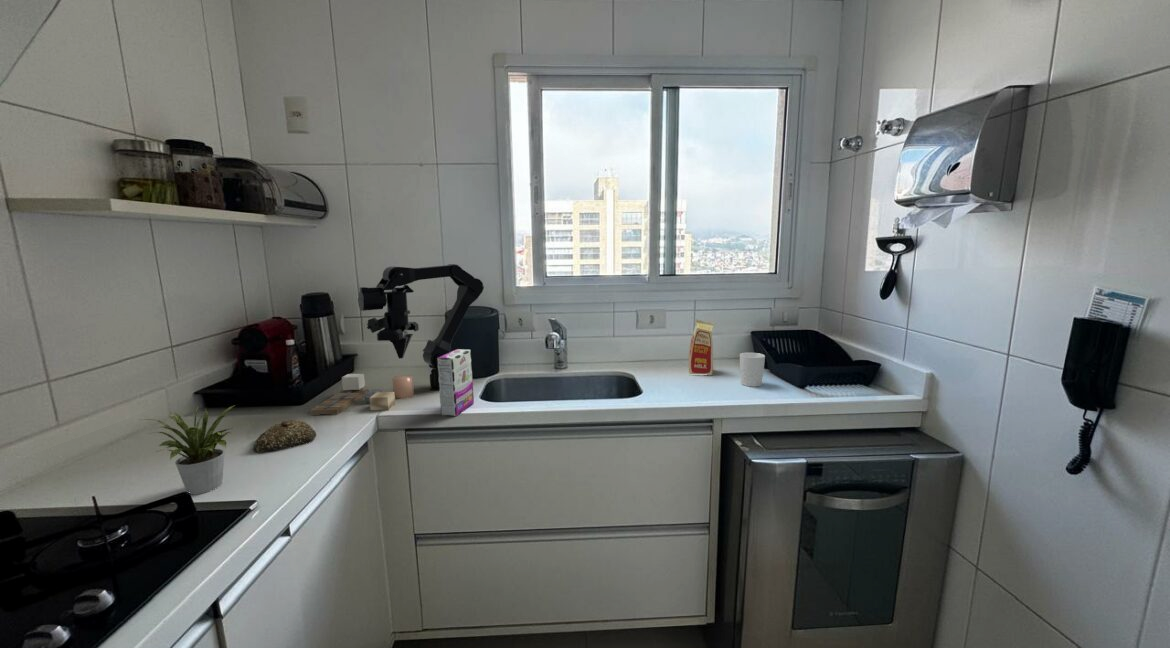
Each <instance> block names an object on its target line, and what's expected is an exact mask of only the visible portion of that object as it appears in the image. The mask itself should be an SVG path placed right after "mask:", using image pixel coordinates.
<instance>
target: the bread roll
mask: <svg viewBox="0 0 1170 648" xmlns="http://www.w3.org/2000/svg"><path fill="white" fill-rule="evenodd" d="M316 435H317V433H316V430H314V428H313V427H312V426H311V425H310V424H308V423H307V422H306V421H303V420H297V419H290V420H283V421H281V422H280V423H276V424H274V425H272V426H270V427H269V428H267V429H266V430H265V431H264V432H262V433H261V434H260V435H259V437H257V439H256V441H255V444H254V446H253V448H252V452H255V453H260V454H261V453H268V452H275V451H280V450H285V448H286V449H289V448H290V447H291V448H293V447H294V446H295V447H299V446H302V445H306V443H307V444H309V442H310V443H312V442H313V441H314V440H315V438H316V437H317V436H316ZM298 445H299V446H298Z"/></svg>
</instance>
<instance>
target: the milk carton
mask: <svg viewBox="0 0 1170 648" xmlns="http://www.w3.org/2000/svg"><path fill="white" fill-rule="evenodd" d="M715 325H716V322H710V321H709V322H708V321H705V320H701V319H698V318H695V327H694V329H693V333H692V336H691V340H690V347H689V352H688V373H689V374H707V375H712V376H713V374H714V343H713V328H714V326H715ZM712 373H713V374H712ZM689 374H688V375H689Z"/></svg>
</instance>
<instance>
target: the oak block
mask: <svg viewBox="0 0 1170 648" xmlns="http://www.w3.org/2000/svg"><path fill="white" fill-rule="evenodd" d="M392 406H393V407H395V406H396V398H395V394H394V392H393V391H383V392H377V393H375V394H374V395H373V396H371V397H370V404H369V407H370V411H371V410H387V411H390V410H391V409H392V408H393V407H392ZM391 407H392V408H391ZM390 408H391V409H390ZM389 409H390V410H389Z"/></svg>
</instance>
